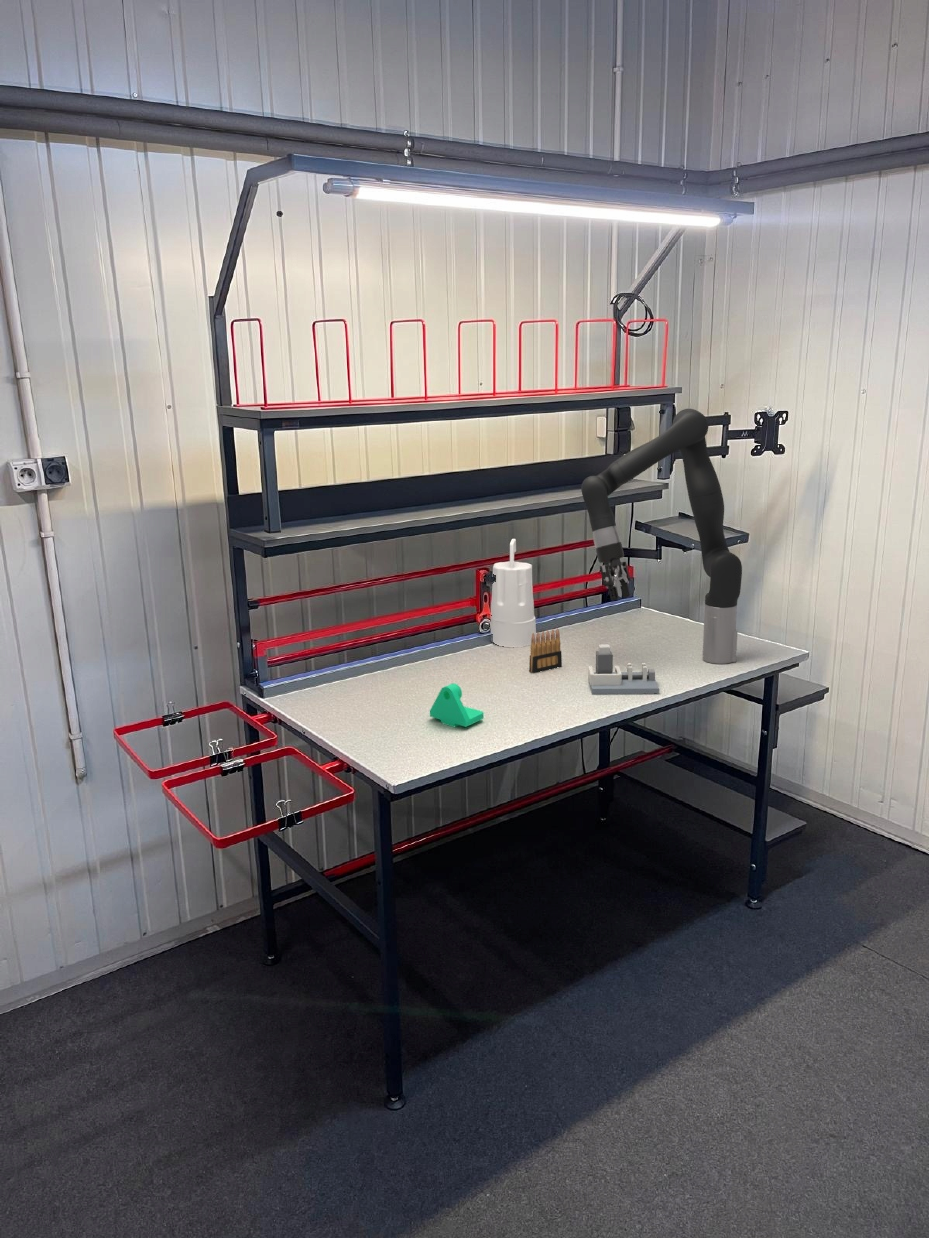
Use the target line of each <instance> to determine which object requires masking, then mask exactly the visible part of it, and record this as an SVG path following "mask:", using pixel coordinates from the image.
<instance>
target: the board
mask: <svg viewBox="0 0 929 1238" xmlns="http://www.w3.org/2000/svg"><path fill="white" fill-rule="evenodd" d="M626 665H627V667H626V672H625V671H624V672H623V671H621V669H620V665H615V666H614V667H615V668H614V670H615V671H614V672H613V674H596V671H595V672H594V668H593V666H592V665H588V673H587V675H588V682H589V687H590V691H591V695H644V694H643V693H646V694H645V695H655V694H654V693H659V694H660V687H659V685H658V683H657V680H656V672H655V669H654V668H648V667H647V664H646V662H642V663H641V671H633V666H632V663H630V662H629V663H627V664H626ZM636 693H637V694H636ZM647 693H648V694H647Z"/></svg>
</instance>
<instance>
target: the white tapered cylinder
mask: <svg viewBox="0 0 929 1238" xmlns="http://www.w3.org/2000/svg"><path fill="white" fill-rule="evenodd" d="M516 552H517V540H516V538H512V539H511V541H510V543H509V560H508V561H500V562H495V563H494V564H493V566H492V575H493V574H494V575H496V582H494V583H493V584H492V583H491V585H492V586H491V589H492V590H491V601H490V602H491V603H490V634H491V633H493V642H494V643H495V644H497V645H499V646H498V647H502V646H504V648H513V647H514V648H522V647H523V648H524V647H528V646H531V645H530V644H531V638H532V634H533V633H534V635H535V643H536V636H537V629H536V628H537V625H536V616H535V603H534V594H533V593H534V592H533V590H534V589H533V564H530V563H529V562H521V561H515V553H516ZM491 615H492V616H491ZM495 644H494V645H495ZM497 645H496V646H497Z"/></svg>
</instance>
